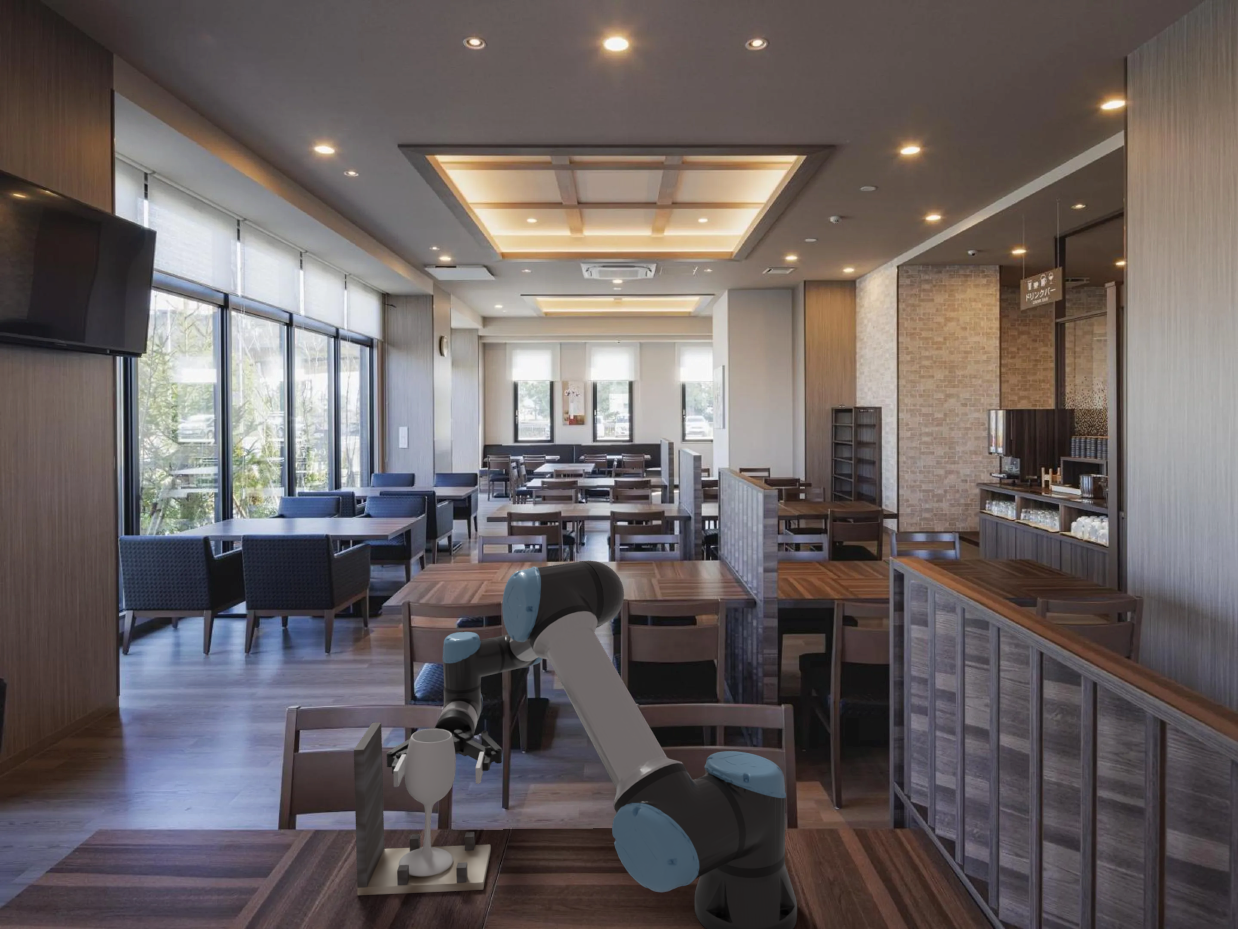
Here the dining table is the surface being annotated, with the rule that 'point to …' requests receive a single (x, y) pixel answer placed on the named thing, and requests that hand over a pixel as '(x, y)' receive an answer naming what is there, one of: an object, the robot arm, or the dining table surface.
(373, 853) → the pegged display stand
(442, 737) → the wineglass
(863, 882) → the dining table surface
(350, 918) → the dining table surface
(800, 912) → the dining table surface
